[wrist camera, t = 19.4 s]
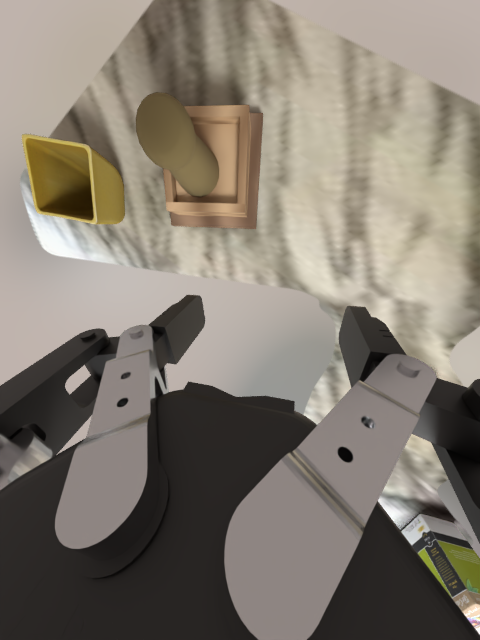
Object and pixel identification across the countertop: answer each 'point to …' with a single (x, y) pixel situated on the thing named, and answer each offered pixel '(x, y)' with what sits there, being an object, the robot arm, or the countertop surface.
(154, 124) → the cork
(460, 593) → the tea box
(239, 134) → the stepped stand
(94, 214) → the flower pot
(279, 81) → the countertop surface
